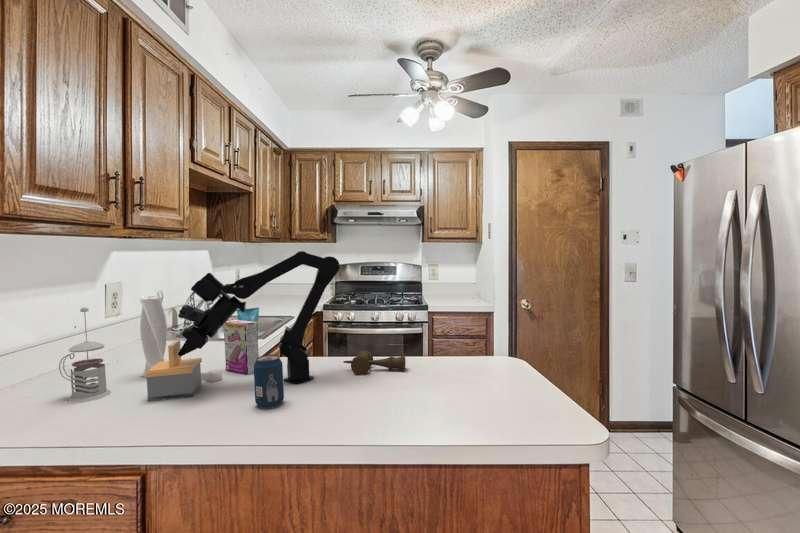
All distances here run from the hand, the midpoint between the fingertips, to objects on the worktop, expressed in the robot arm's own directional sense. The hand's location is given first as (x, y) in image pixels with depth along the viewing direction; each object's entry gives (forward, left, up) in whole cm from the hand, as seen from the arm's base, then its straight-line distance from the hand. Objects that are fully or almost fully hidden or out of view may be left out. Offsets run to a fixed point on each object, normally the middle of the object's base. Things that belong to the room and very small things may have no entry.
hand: (179, 355), depth 116 cm
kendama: (-33, -45, -11) cm, 57 cm away
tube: (+12, -29, -11) cm, 34 cm away
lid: (+1, +1, -4) cm, 4 cm away
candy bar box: (+4, -21, -11) cm, 24 cm away
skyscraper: (+24, -3, -11) cm, 27 cm away
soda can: (-30, -8, -11) cm, 33 cm away
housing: (+1, +1, -11) cm, 11 cm away
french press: (+20, +17, -11) cm, 28 cm away
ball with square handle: (+5, -11, -11) cm, 16 cm away
